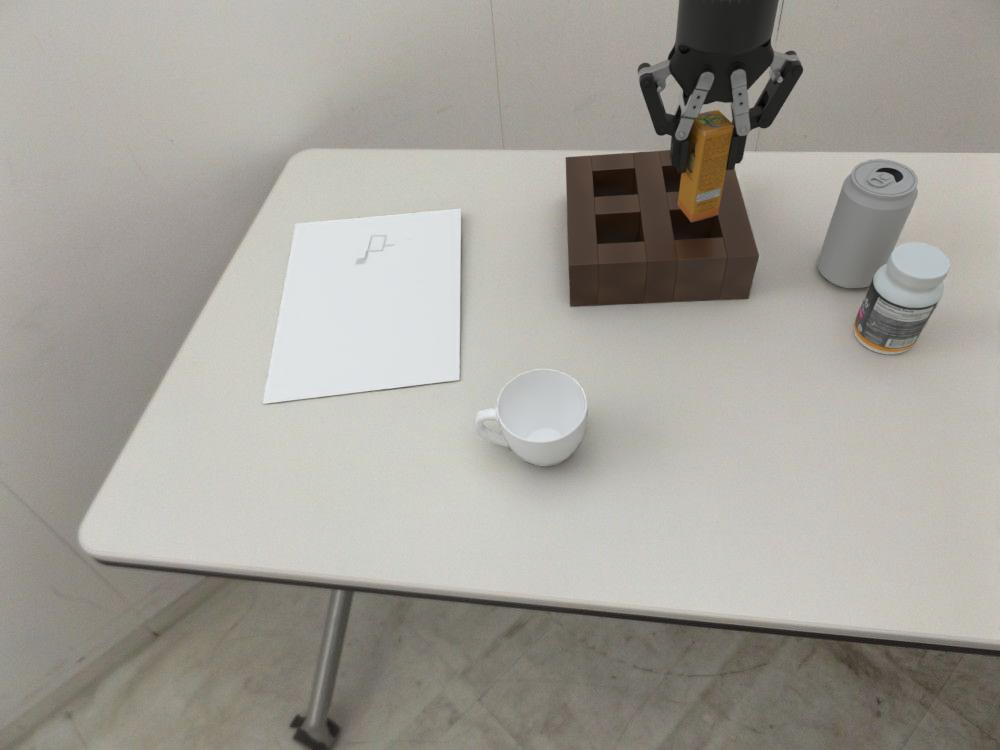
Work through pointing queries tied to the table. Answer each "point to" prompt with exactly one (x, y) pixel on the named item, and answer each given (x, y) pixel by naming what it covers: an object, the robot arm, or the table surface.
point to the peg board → (651, 235)
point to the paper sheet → (368, 306)
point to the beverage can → (867, 222)
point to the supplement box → (705, 166)
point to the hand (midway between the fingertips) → (704, 165)
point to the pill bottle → (902, 298)
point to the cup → (538, 416)
